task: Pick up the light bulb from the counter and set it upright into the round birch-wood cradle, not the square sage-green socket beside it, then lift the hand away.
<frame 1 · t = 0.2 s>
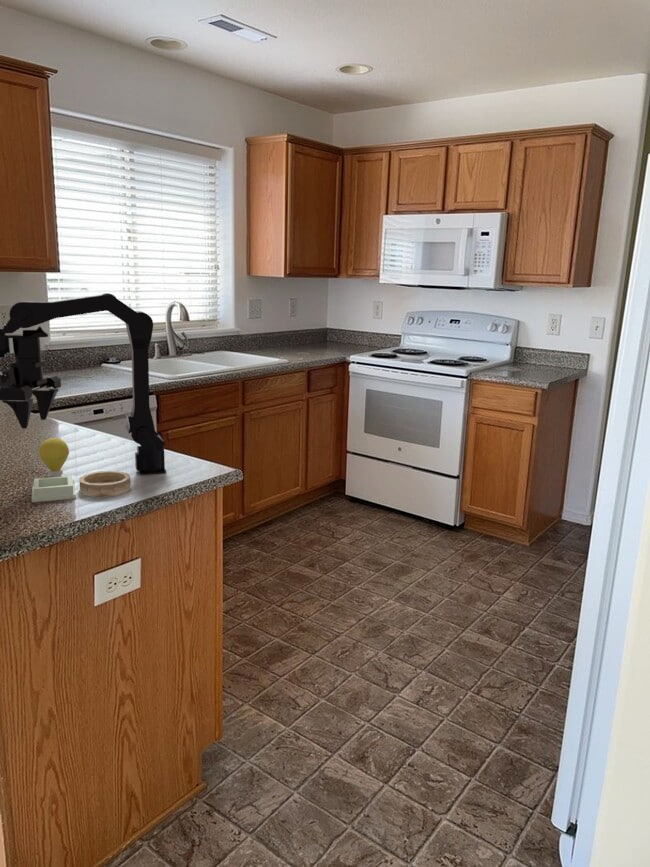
hand: (34, 423, 157), 14 cm above the countertop, fingers open, 9 cm apart
light bulb: (55, 479, 161), on the countertop
square socket: (54, 494, 150), on the countertop
round cradle: (105, 489, 154), on the countertop
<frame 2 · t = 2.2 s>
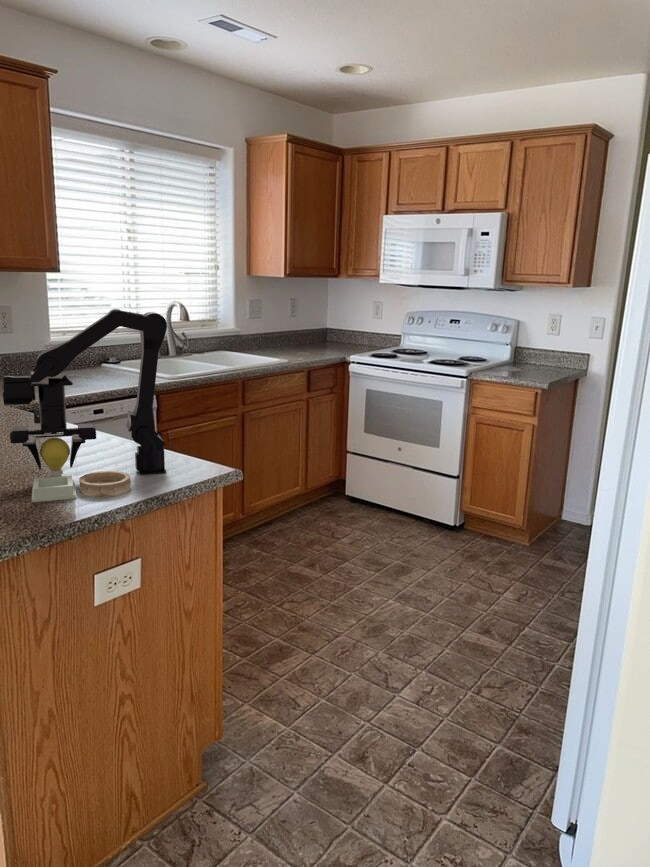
hand: (55, 468, 161), 3 cm above the countertop, fingers closed on light bulb, 6 cm apart
light bulb: (55, 479, 161), on the countertop, touching gripper
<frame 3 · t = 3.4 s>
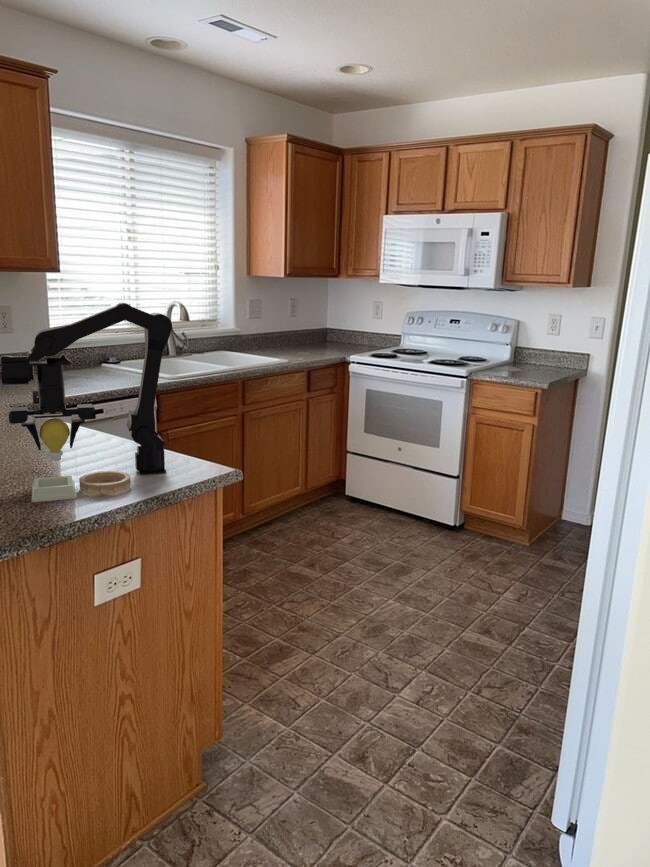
hand: (55, 448, 160), 7 cm above the countertop, fingers closed on light bulb, 6 cm apart
light bulb: (55, 460, 160), point 5 cm above the countertop, touching gripper
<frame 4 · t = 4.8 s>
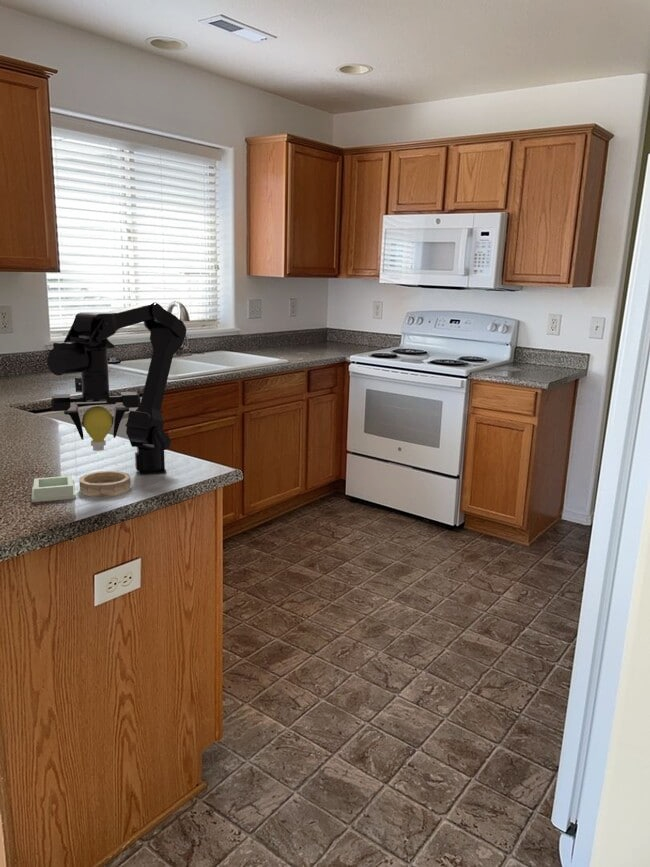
hand: (98, 438, 152), 12 cm above the countertop, fingers closed on light bulb, 6 cm apart
light bulb: (98, 450, 153), point 9 cm above the countertop, touching gripper
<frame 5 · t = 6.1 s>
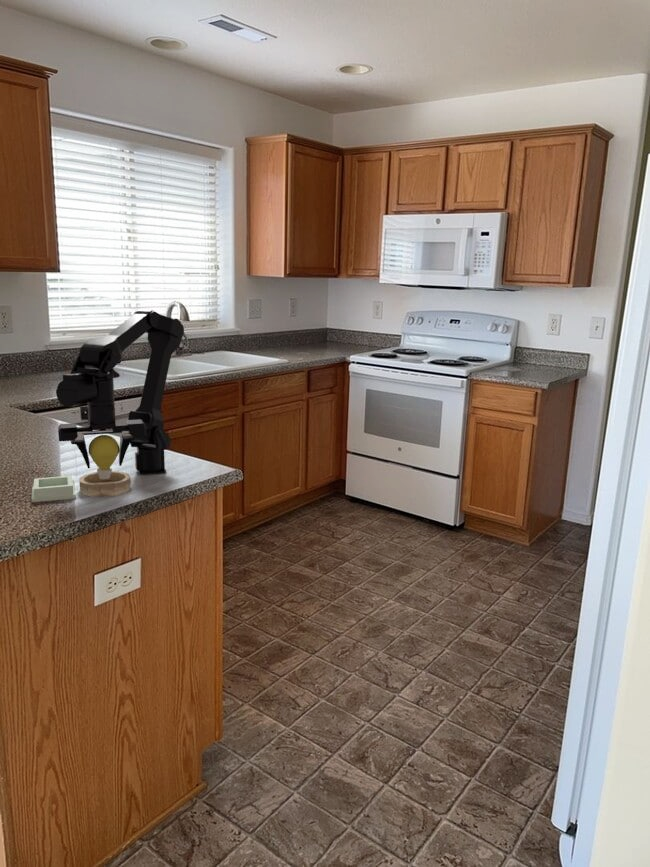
hand: (104, 466, 153), 5 cm above the countertop, fingers closed on light bulb, 6 cm apart
light bulb: (104, 478, 154), point 3 cm above the countertop, touching gripper
when the fingers open (4 cm above the countertop, at t = 7.2 s): light bulb stays where it is, resting on round cradle.
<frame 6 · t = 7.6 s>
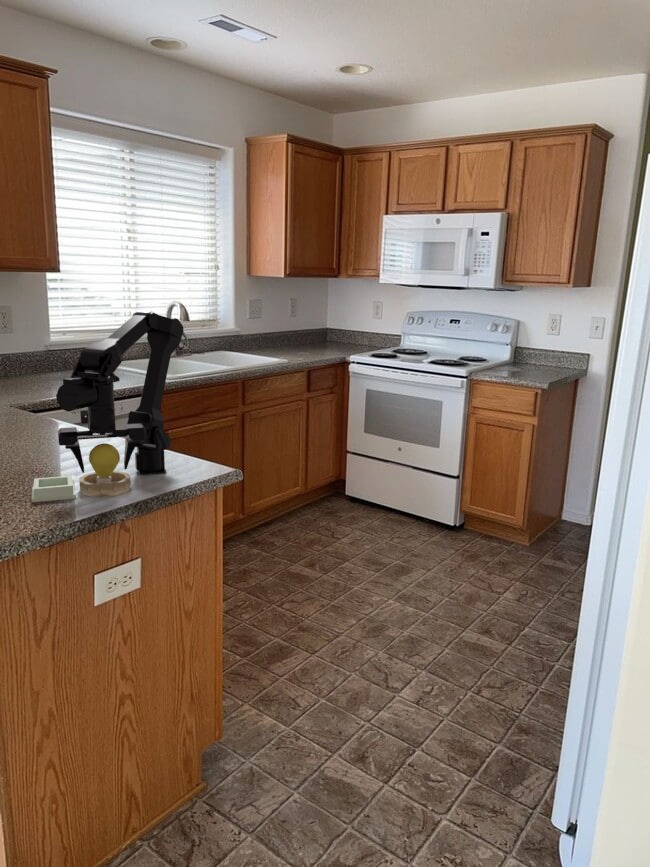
hand: (104, 470, 153), 4 cm above the countertop, fingers open, 9 cm apart
light bulb: (103, 486, 154), point 1 cm above the countertop, touching round cradle
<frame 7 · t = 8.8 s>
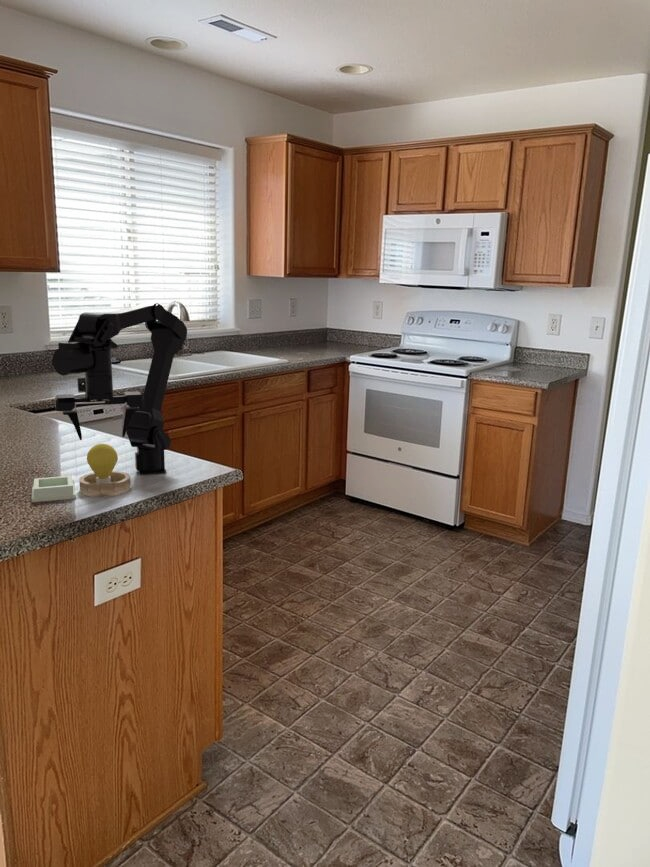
hand: (102, 438, 153), 12 cm above the countertop, fingers open, 9 cm apart
nothing on the countertop moved.
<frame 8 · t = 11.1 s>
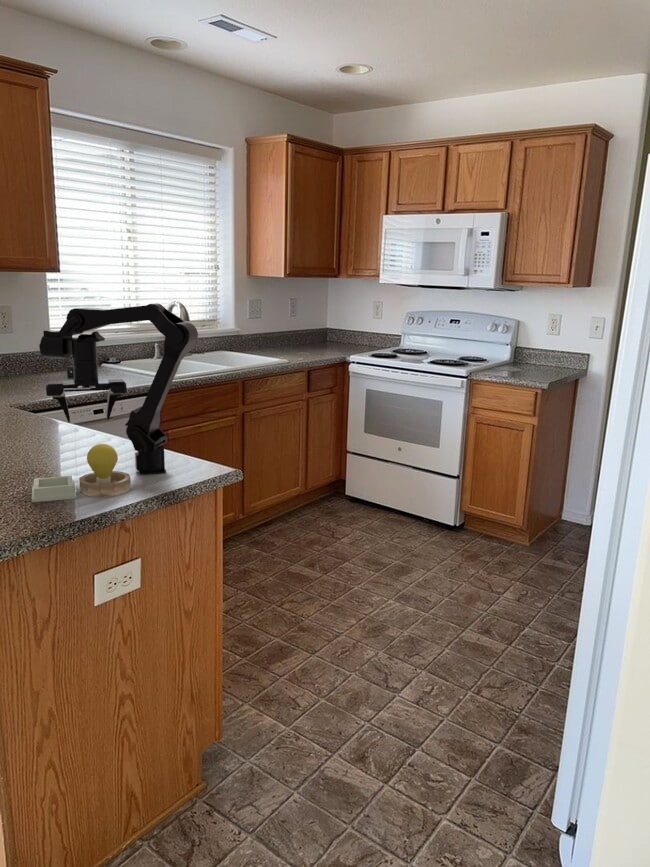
hand: (88, 421, 169), 12 cm above the countertop, fingers open, 9 cm apart
nothing on the countertop moved.
at the end: light bulb 0.3 cm from the round cradle (horizontally); light bulb tilted 0°; the gripper is holding nothing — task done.
